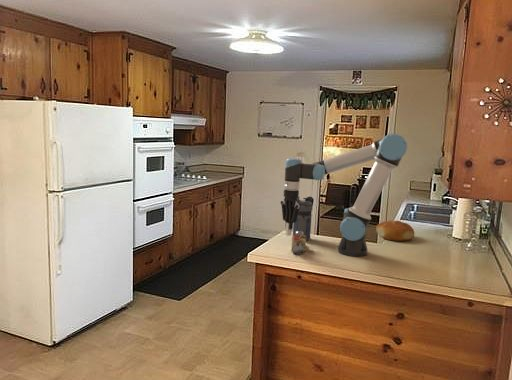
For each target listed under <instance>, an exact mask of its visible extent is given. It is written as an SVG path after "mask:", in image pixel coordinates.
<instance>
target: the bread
mask: <svg viewBox="0 0 512 380" xmlns="http://www.w3.org/2000/svg"><path fill="white" fill-rule="evenodd" d="M375 230H376V233H377V235H378V236H379V237H380V238H382V239H384V240H387V241H393V242H405V241H407V242H408V241H410V240H412V239H413V238H414V236H415V230H414V228H413V227H412V226H411V225H410V224H408V223H405V222H404V221H400V220H386V221H382V222H379V223H378V224H377V225H376V226H375Z"/></svg>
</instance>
